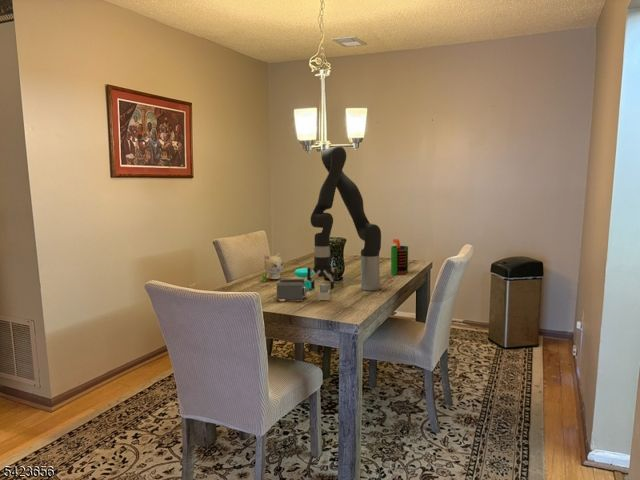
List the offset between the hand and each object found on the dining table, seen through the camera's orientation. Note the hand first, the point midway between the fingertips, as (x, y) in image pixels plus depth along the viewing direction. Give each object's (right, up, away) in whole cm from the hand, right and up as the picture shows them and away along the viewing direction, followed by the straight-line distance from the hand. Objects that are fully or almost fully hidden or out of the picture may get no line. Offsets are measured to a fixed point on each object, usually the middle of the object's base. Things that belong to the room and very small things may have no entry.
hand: (322, 289), depth 218 cm
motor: (+45, +3, +51) cm, 68 cm away
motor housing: (-15, -5, +4) cm, 16 cm away
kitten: (-27, 0, +44) cm, 52 cm away
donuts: (-9, -2, +22) cm, 24 cm away
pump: (+1, -5, 0) cm, 5 cm away
